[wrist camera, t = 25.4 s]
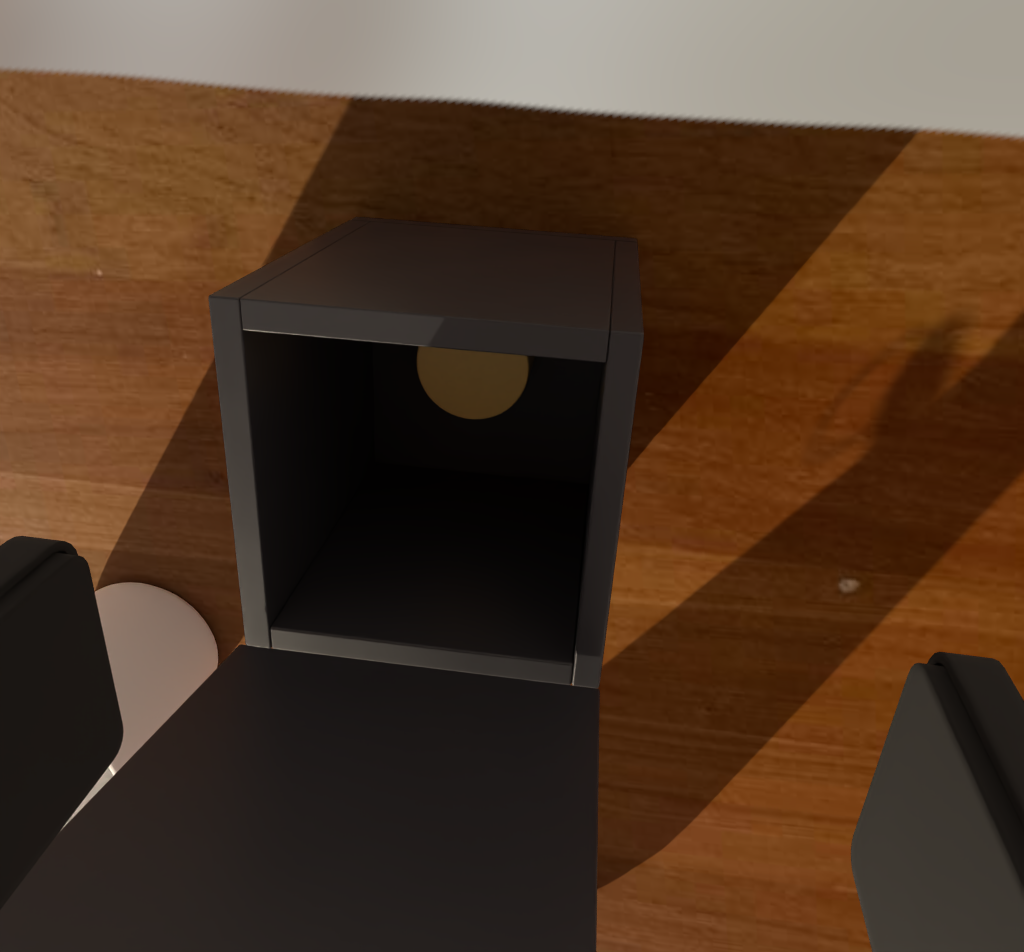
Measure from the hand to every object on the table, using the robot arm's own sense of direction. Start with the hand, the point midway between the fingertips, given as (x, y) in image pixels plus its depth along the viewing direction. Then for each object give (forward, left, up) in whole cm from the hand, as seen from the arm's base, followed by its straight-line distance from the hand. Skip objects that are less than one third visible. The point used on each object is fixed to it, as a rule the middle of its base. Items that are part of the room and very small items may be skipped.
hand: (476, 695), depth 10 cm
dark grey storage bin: (+6, +3, -28) cm, 29 cm away
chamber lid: (+7, +7, -7) cm, 13 cm away
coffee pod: (+5, +2, -27) cm, 27 cm away
